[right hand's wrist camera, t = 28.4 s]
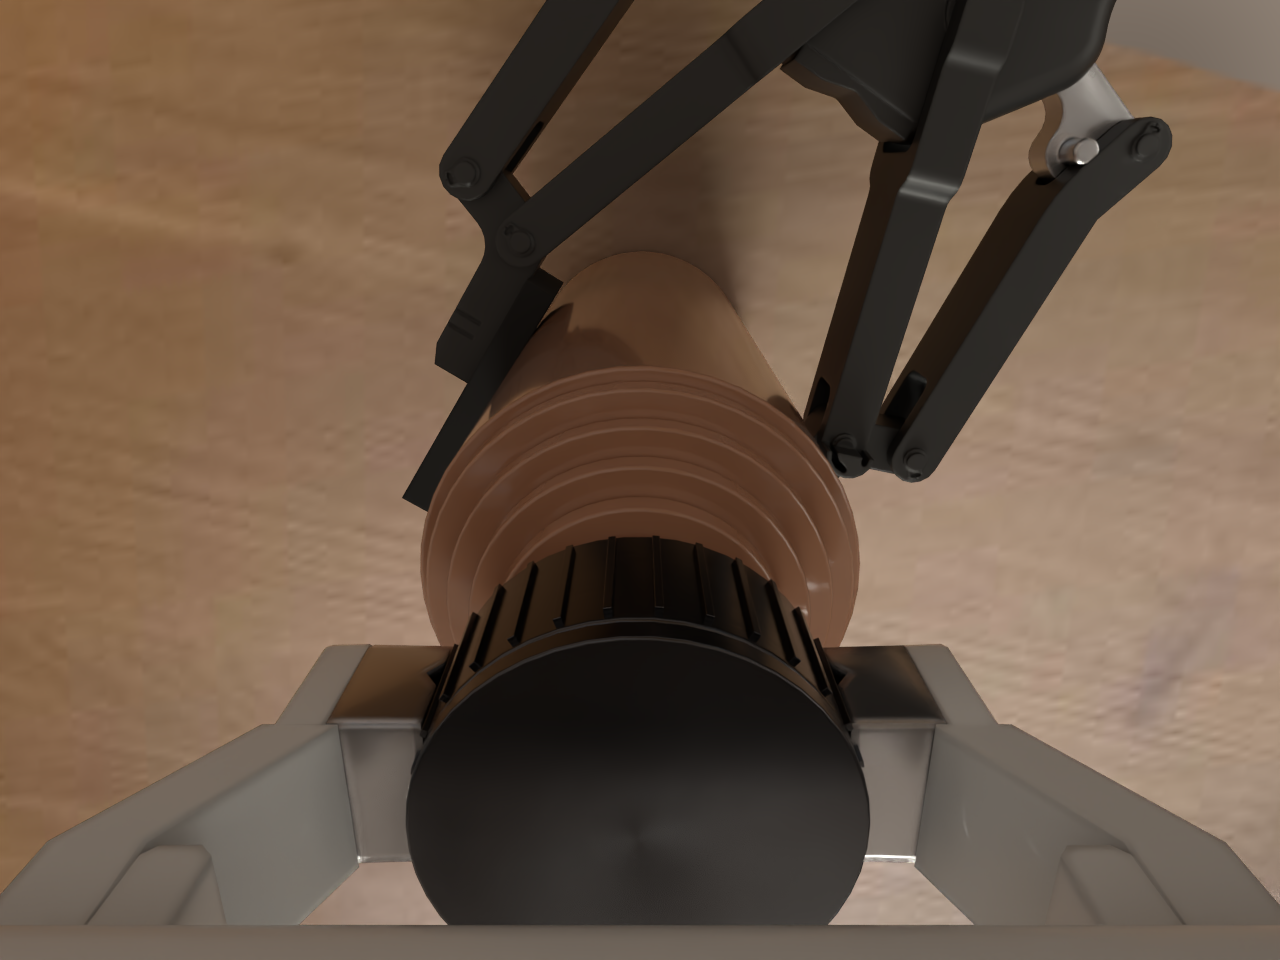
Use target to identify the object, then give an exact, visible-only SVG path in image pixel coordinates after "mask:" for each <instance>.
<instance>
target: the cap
mask: <svg viewBox="0 0 1280 960" xmlns="http://www.w3.org/2000/svg"><path fill="white" fill-rule="evenodd" d="M853 729H854V728H853V725H852V723H851V720H850V717H849V715H848V712H847V710H846V707H845V704H844V702H843V699H842V696H841V694H840V691H839V689H838V686H837V683H836V681H835V678H834V675H833V673H832V670H831V668H830V665H829V662H828V660H827V657H826V654H825V652H824V649H823V647H822V644H821V641H820V639H819V638H816V639H813V636H812V634H811V632H810V630H809V627H808V625H807V622H806V619H805V616H804V614H803V611H802V610H801V608H800V607H799V606H798V607H796V608H794V607H793V605H792V604H791V603H790V602H789V600H788V599H787V598H786V597H785V596H784V595H783V594H782V593H781V592H780V591H779V590H778V588H777V585H776V583H775V582H774V581H773V580H772V579H770V580H769V581H768V580H766V579H765V578H763V577H762V576H761V575H759V574H758V573H756V572H755V571H754V570H752V569H751V568H749V567H748V566H746V565H744V564H743V562H742V560H741V559H739V558H737V557H736V558H735V559H732V558H731V557H729V556H727V555H724V554H722V553H719V552H716V551H714V550H711V549H708V548H705V547H703V544H700V543H697V542H696V543H695V544H691V543H687V542H683V541H678V540H672V539H664V538H660V536H655V535H653V536H652V537H620V538H616V536H611V537H608V539H604V540H597V541H593V542H589V543H585V544H581V545H577V546H573V545H569V546H566V549H565V550H562V551H560V552H557V553H555V554H552V555H550V556H547V557H545V558H543V559H542V560H540V561H538V562H536V563H535V562H534V561H532V562H530V563H528V564H527V567H526V568H525V569H524V570H522V571H521V572H520V573H518V574H517V575H515V576H514V577H513V578H511V579H510V580H508V581H507V582H506V583H505V584H504V585H503V586H502V585H501V584H498V585H497V586H496V587H495V588H494V591H493V594H492V596H491V597H490V598H489V599H488V600H487V601H486V603H485V604H484V605H483V607H482V608H481V609H480V610H479V612H478V613H477V614H476V613H475V612H472V613H471V615H470V616H469V619H468V622H467V624H466V627H465V630H464V632H463V635H462V638H461V640H460V643H459V645H457V644H454V646H453V648H452V651H451V654H450V656H449V659H448V661H447V664H446V667H445V669H444V672H443V675H442V677H441V680H440V683H439V685H438V688H437V690H436V693H435V696H434V698H433V701H432V704H431V706H430V709H429V711H428V714H427V717H426V719H425V722H424V725H423V727H422V730H421V732H420V735H419V736H420V737H423V738H425V741H424V743H423V746H422V749H421V752H420V754H419V757H418V759H417V758H415V759H414V762H413V764H412V767H411V772H410V774H411V775H412V776H411V780H410V785H409V790H408V795H407V799H406V820H405V827H406V834H407V842H408V849H409V853H410V857H411V860H412V863H413V866H414V870H415V873H416V875H417V878H418V880H419V882H420V884H421V886H422V888H423V890H424V892H425V894H426V896H427V898H428V899H429V900H430V902H431V903H432V905H433V906H434V908H435V909H436V911H437V912H438V914H439V915H440V917H441V918H442V919H443V920H444V921H445V922H446V923H447V924H448V925H828V924H829V922H830V921H831V920H832V919H833V918H834V917H835V916H836V914H837V913H838V912H839V910H840V909H841V907H842V906H843V904H844V903H845V901H846V900H847V898H848V896H849V895H850V893H851V891H852V889H853V887H854V885H855V883H856V881H857V878H858V876H859V874H860V872H861V869H862V865H863V862H864V858H865V855H866V851H867V848H868V840H869V832H870V823H871V822H870V802H869V795H868V790H867V786H866V781H865V777H864V773H863V770H862V768H863V767H864V761H863V758H862V755H861V753H860V752H856V751H855V749H854V746H853V743H852V741H851V738H850V735H849V732H848V731H850V730H853Z"/></svg>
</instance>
